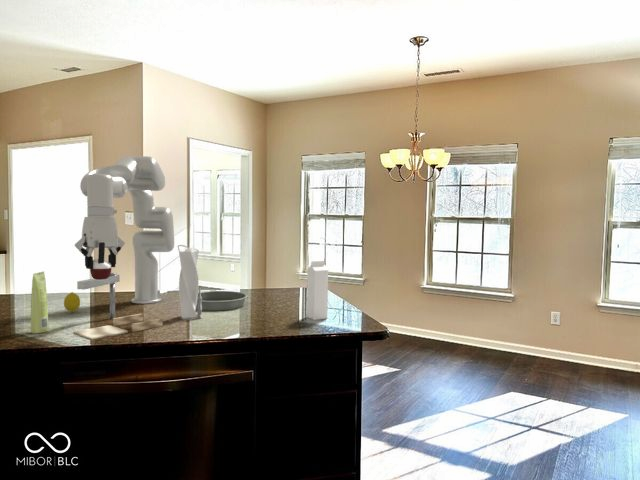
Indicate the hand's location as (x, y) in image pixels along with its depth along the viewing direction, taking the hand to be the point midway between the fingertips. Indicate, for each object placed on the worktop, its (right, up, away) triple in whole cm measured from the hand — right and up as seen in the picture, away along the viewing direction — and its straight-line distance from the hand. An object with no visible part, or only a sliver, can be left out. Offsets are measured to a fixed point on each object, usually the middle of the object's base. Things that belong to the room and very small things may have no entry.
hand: (100, 267), depth 149 cm
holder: (+7, -21, +11) cm, 25 cm away
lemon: (-26, -20, +30) cm, 44 cm away
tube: (-20, -21, +1) cm, 30 cm away
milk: (+70, -21, +29) cm, 79 cm away
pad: (0, -21, +1) cm, 21 cm away
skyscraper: (+21, -21, +26) cm, 40 cm away
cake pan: (+27, -20, +50) cm, 61 cm away
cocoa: (0, -4, 0) cm, 4 cm away
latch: (-7, -21, +14) cm, 26 cm away
